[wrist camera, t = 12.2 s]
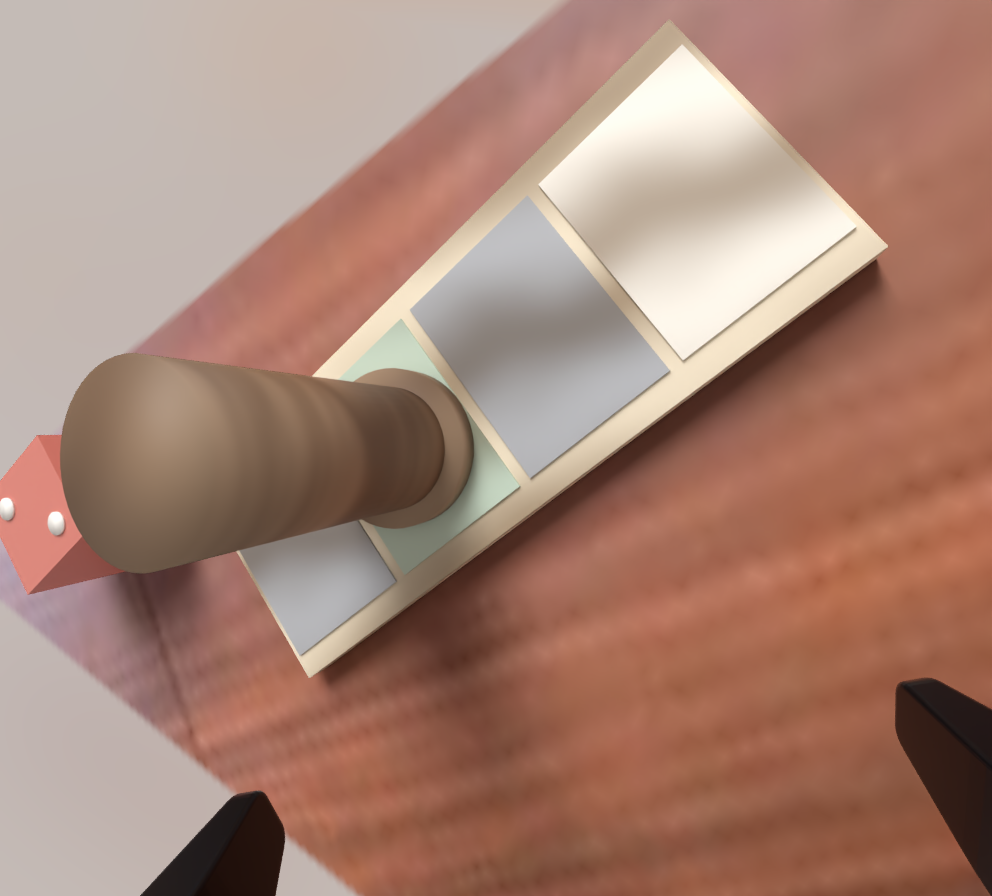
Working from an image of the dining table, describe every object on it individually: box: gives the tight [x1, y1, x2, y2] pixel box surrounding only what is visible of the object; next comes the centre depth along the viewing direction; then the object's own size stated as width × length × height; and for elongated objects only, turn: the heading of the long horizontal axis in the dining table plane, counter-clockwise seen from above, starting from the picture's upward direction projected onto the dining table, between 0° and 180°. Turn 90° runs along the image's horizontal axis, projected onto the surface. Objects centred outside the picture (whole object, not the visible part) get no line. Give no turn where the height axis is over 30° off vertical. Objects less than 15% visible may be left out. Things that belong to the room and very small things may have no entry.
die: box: [0, 435, 125, 595], centre depth 27 cm, size 5×5×5 cm
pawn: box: [60, 353, 474, 574], centre depth 17 cm, size 6×6×11 cm
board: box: [237, 20, 888, 678], centre depth 22 cm, size 10×26×1 cm, turn 127°
